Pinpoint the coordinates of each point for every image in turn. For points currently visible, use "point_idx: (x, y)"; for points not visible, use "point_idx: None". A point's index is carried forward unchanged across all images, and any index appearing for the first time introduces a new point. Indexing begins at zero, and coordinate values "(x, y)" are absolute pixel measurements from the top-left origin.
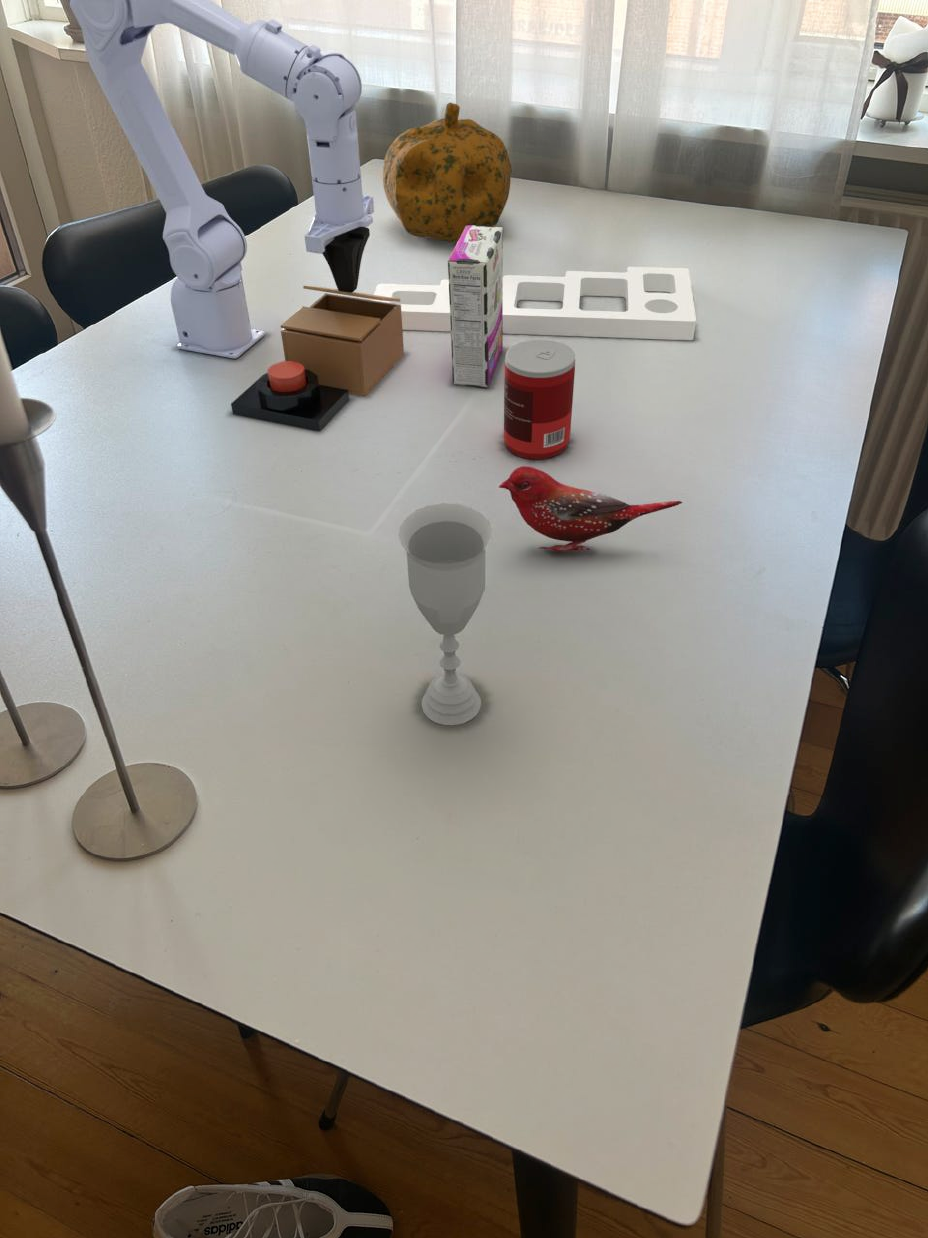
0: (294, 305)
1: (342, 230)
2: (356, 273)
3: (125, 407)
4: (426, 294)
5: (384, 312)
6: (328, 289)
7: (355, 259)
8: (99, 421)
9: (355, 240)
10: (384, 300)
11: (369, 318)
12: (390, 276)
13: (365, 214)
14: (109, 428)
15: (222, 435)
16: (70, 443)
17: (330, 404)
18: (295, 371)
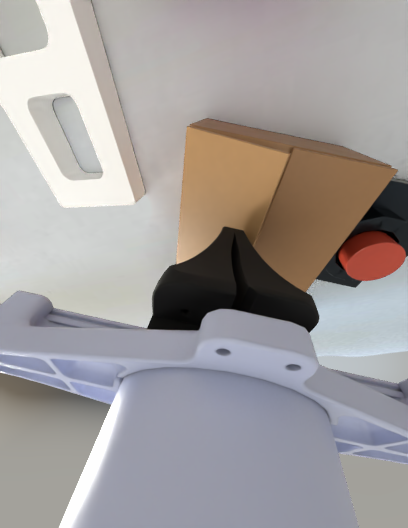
0: (129, 273)
1: (381, 403)
2: (232, 241)
3: (316, 336)
4: (39, 122)
5: None
6: None
7: (249, 262)
8: (335, 344)
9: (278, 307)
10: (271, 148)
11: (291, 174)
12: (16, 201)
13: (189, 364)
14: (348, 339)
15: (393, 279)
16: (364, 350)
17: (400, 188)
18: (387, 251)
